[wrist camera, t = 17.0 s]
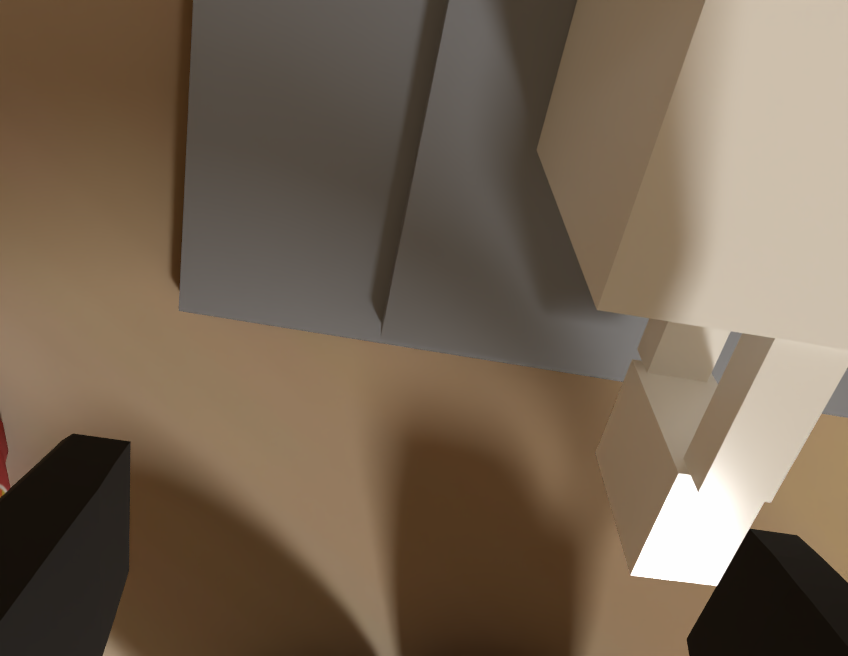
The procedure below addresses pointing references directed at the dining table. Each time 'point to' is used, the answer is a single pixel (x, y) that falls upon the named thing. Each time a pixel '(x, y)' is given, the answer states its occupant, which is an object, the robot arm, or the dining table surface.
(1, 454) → the smoothie
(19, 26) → the dining table surface
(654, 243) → the beige upright block
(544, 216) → the board
